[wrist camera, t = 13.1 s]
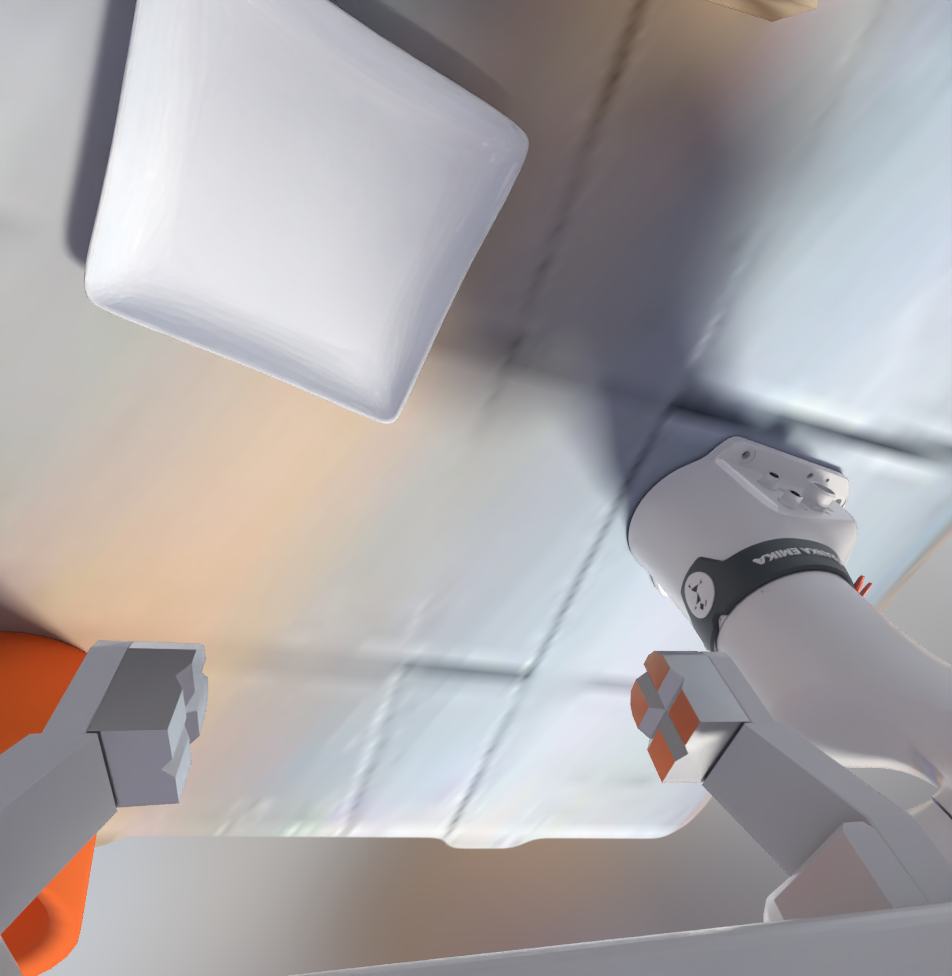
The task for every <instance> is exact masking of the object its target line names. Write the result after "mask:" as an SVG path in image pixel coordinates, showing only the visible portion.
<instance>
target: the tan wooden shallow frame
mask: <svg viewBox="0 0 952 976" xmlns="http://www.w3.org/2000/svg"><path fill="white" fill-rule="evenodd" d="M707 1H711V2H714V3H717V4H720V5H723V6H726V7H729V8H732V9H735V10H738V11H741V12H745V13H748V14H751V15H754V16H757V17H760V18H763V19H766V20H769V21H772V22H773V21H776V20H779V19H782V18H786V17H789V16H792V15H796V14H799V13H802V12H806V11H809V10H812V9H815V8H816V6H817V3H818V1H819V0H707Z"/></svg>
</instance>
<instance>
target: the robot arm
mask: <svg viewBox="0 0 952 976" xmlns="http://www.w3.org/2000/svg"><path fill="white" fill-rule="evenodd" d="M744 452H745V454H744V455H742V454H743V453H744ZM848 495H849V480H848V479H847V478H846V477H845V476H844V475H843V474H841V473H840V472H837V471H834V470H832V469H829V468H826V467H823V466H820V465H818V464H815V463H812V462H809V461H807V460H804V459H801V458H798V457H795V456H793V455H790V454H787V453H784V452H782V451H779V450H776V449H773V448H770V447H768V446H765V445H762V444H759V443H756V442H754V441H751V440H748V439H745V438H743V437H739V436H734V437H731V438H728V439H727V440H725V441H724V442H722V443H721V444H720V445H718V446H717V447H716V448H715V449H713V450H712V451H711V452H710V453H709V454H708V455H706V456H705V457H703V458H701V459H699V460H697V461H695V462H693V463H690V464H688V465H686V466H683V467H681V468H679V469H677V470H676V471H674V472H672V473H671V474H669V475H668V476H666V477H665V478H663V479H662V480H661V481H660V482H658V483H657V484H656V485H655V486H654V487H653V488H652V489H651V490H650V491H649V492H648V493H647V494H646V496H645V497H644V498H643V499H642V501H641V502H640V504H639V505H638V507H637V509H636V511H635V513H634V515H633V517H632V520H631V523H630V527H629V536H628V539H629V546H630V550H631V553H632V555H633V556H634V558H635V560H636V561H637V562H638V563H639V564H640V565H641V566H642V567H643V568H644V569H645V570H646V571H647V572H648V573H649V574H650V575H651V576H652V579H653V582H654V585H655V587H656V589H657V590H658V591H659V592H660V594H661V595H662V596H664V597H669V598H670V599H671V600H672V601H673V603H674V604H675V605H676V606H677V608H678V609H679V610H680V611H681V612H682V614H683V615H684V616H685V617H686V619H687V620H688V621H689V622H690V623H691V625H692V626H693V627H694V629H695V631H696V632H697V634H698V635H699V637H700V638H701V640H702V641H703V643H704V646H705V648H706V649H707V651H708V652H697V651H654V652H652V653H651V654H649V655H648V657H647V659H646V661H645V663H644V666H645V668H646V670H647V672H646V673H644V674H643V675H642V676H640V677H639V678H637V679H636V681H635V683H634V685H633V688H632V690H631V710H632V714H633V718H634V720H635V722H636V725H637V727H638V729H639V730H641V731H642V732H643V733H644V734H645V735H646V736H647V737H648V738H650V740H649V745H648V749H647V750H648V752H649V754H650V757H651V759H652V761H653V763H654V766H655V768H656V770H657V772H658V775H659V777H660V779H661V781H662V783H697V782H704V783H703V784H702V785H703V786H704V787H705V788H706V789H707V790H708V792H709V793H710V794H711V795H712V796H713V797H714V798H715V799H716V800H717V801H718V802H719V803H720V804H721V805H722V806H723V807H724V808H725V809H726V810H727V811H728V812H729V813H730V814H731V815H732V816H733V818H734V819H735V820H736V821H737V822H738V823H739V824H740V825H741V826H742V827H743V828H744V829H745V830H746V831H747V832H748V833H749V834H750V835H751V836H752V837H753V838H754V839H755V840H756V842H757V843H759V844H760V846H761V847H762V848H763V849H764V850H765V851H766V852H767V853H768V854H769V855H770V856H771V857H772V858H773V859H774V860H775V861H776V862H777V863H778V864H779V865H780V867H782V869H783V870H784V871H785V872H786V873H787V874H788V875H789V876H790V877H789V878H788V879H787V880H786V881H785V882H784V883H783V884H782V885H780V887H778V888H777V889H776V890H775V891H774V892H772V893H771V894H770V895H769V896H768V897H767V899H766V903H765V909H764V919H763V923H756V924H747V925H739V926H729V927H720V928H711V929H702V930H693V931H684V932H675V933H666V934H657V935H649V936H639V937H630V938H621V939H612V940H603V941H594V942H585V943H576V944H567V945H559V946H549V947H540V948H532V949H522V950H513V951H504V952H495V953H486V954H477V955H468V956H460V957H450V958H441V959H432V960H423V961H415V962H405V963H397V964H388V965H379V966H370V967H361V968H352V969H343V970H335V971H325V972H316V973H307V974H298V975H290V976H952V665H951V664H949V663H947V662H945V661H944V660H942V659H940V658H938V657H937V656H935V655H934V654H932V653H931V652H929V651H928V650H927V649H925V648H924V647H923V646H921V645H920V644H918V643H917V642H916V641H915V640H913V639H912V638H911V637H910V636H908V635H907V634H906V633H904V632H903V631H902V630H901V629H899V628H898V627H897V626H896V625H895V624H893V623H892V622H891V621H890V620H888V619H887V618H886V617H885V616H884V615H883V614H881V613H880V612H879V611H878V610H877V609H876V608H875V607H874V606H872V605H871V604H870V603H869V602H868V601H867V600H866V599H865V598H863V597H864V595H865V594H866V593H867V591H868V590H869V588H870V587H871V585H872V583H868V584H867V585H866V586H865V587H864V588H863V589H862V591H861V592H860V593H859V591H860V589H861V588H862V584H863V581H864V578H865V577H864V576H862V575H861V576H860V577H859V578H858V579H857V581H856V582H855V583H854V584H853V582H852V580H851V578H850V576H849V574H848V572H847V570H846V569H845V565H846V563H847V561H848V559H849V557H850V555H851V553H852V551H853V549H854V546H855V543H856V540H857V535H858V527H857V523H856V521H855V519H854V518H853V516H852V515H851V514H850V513H848V512H847V511H846V510H845V509H844V508H845V506H846V503H847V499H848ZM205 660H206V656H205V648H204V645H203V644H194V643H170V642H146V641H109V640H99V641H98V642H97V643H96V644H95V645H93V646H92V647H91V648H90V650H89V651H88V653H87V655H86V656H85V658H84V660H83V662H82V663H81V665H80V667H79V669H78V670H77V672H76V674H75V676H74V677H73V679H72V681H71V683H70V684H69V686H68V688H67V690H66V691H65V693H64V695H63V697H62V698H61V700H60V702H59V704H58V705H57V707H56V709H55V711H54V712H53V714H52V716H51V718H50V719H49V721H48V723H47V725H46V726H45V728H44V730H43V732H42V733H41V734H29V735H27V736H26V737H25V738H23V739H22V740H20V741H19V742H18V743H16V744H15V745H13V746H12V747H10V748H9V749H8V750H6V751H5V752H3V753H2V754H1V755H0V976H23V975H22V973H21V971H20V969H19V966H18V964H17V963H16V961H15V959H14V958H13V956H12V954H11V952H10V951H9V949H8V947H7V945H6V944H5V942H4V940H3V939H2V937H1V934H2V933H3V931H4V930H5V929H6V928H7V927H8V926H9V925H10V924H11V923H12V922H13V921H14V920H15V919H16V918H17V917H18V916H19V915H20V913H21V912H22V911H23V910H24V909H25V908H26V907H27V906H28V905H29V904H30V903H31V902H32V901H33V900H34V899H35V898H36V896H37V895H38V894H39V893H40V892H41V891H42V890H43V889H44V888H45V887H46V886H47V885H48V884H49V883H50V882H51V881H52V880H53V878H54V877H55V876H56V875H57V874H58V873H59V872H60V871H61V870H62V869H63V868H64V867H65V866H66V865H67V864H68V863H69V862H70V860H71V859H72V858H73V857H74V856H75V855H76V854H77V853H78V852H79V851H80V850H81V849H82V848H83V847H84V846H85V845H86V843H87V842H88V841H89V840H90V839H91V838H92V837H93V836H94V835H95V834H96V833H97V832H98V831H99V830H100V829H101V828H102V827H103V825H104V824H105V823H106V822H107V821H108V820H109V819H110V818H111V817H112V816H113V815H114V814H115V813H116V812H117V809H116V808H117V807H131V806H146V805H160V804H175V803H179V801H180V798H181V795H182V791H183V788H184V785H185V782H186V778H187V775H188V772H189V769H190V765H191V762H192V761H191V752H190V744H191V743H192V742H193V741H194V740H195V739H196V738H198V737H199V736H200V732H201V729H202V725H203V722H204V718H205V712H206V706H207V701H208V677H207V676H205V675H204V674H203V673H202V669H203V666H204V663H205ZM845 767H860V768H861V767H865V768H868V767H869V768H872V767H873V768H888V769H894V770H899V771H902V772H906V773H909V774H912V775H914V776H917V777H919V778H921V779H924V780H926V781H928V782H929V783H931V784H933V785H934V786H936V787H937V788H939V791H938V792H937V793H936V794H935V795H934V796H932V797H931V798H932V800H933V801H932V800H929V801H927V802H925V803H922V804H920V805H918V806H916V807H914V808H912V809H910V810H907V811H904V810H903V809H901V808H900V807H899V806H897V805H896V804H894V803H893V802H892V801H890V800H889V799H887V798H886V797H885V796H883V795H882V794H881V793H879V792H878V791H876V790H875V789H874V788H872V787H871V786H870V785H868V784H867V783H865V782H864V781H863V780H861V779H860V778H859V777H857V776H856V775H854V774H853V773H852V772H850V771H849V770H847V769H846V768H845Z"/></svg>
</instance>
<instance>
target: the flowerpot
mask: <svg viewBox="0 0 952 976" xmlns="http://www.w3.org/2000/svg"><path fill="white" fill-rule="evenodd" d="M86 655H87V653H85V652H83V651H82V650H80V649H78V648H76V647H73V646H71V645H69V644H66V643H64V642H62V641H58V640H55V639H51V638H48V637H44V636H40V635H34V634H28V633H20V632H0V755H1V754H2V753H3V752H5V751H6V750H8V749H9V748H10V747H12V746H13V745H15V744H16V743H18V742H19V741H20V740H22V739H23V738H25V737H26V736H27V735H29V734H41V733H42V732H43V730H44V728H45V726H46V725H47V723H48V721H49V719H50V718H51V716H52V714H53V712H54V711H55V709H56V707H57V705H58V704H59V702H60V700H61V698H62V697H63V695H64V693H65V691H66V690H67V688H68V686H69V684H70V683H71V681H72V679H73V677H74V676H75V674H76V672H77V670H78V669H79V667H80V665H81V663H82V662H83V660H84V658H85V656H86ZM96 834H97V833H96ZM96 834H95V835H94V836H93V837H92V838H91V839H90V840H89V841H88V842H87V843H86V845H85V846H84V847H83V848H82V849H81V850H80V851H79V852H78V853H77V854H76V855H75V856H74V857H73V858H72V859H71V860H70V862H69V863H68V864H67V865H66V866H65V867H64V868H63V869H62V870H61V871H60V872H59V873H58V874H57V875H56V876H55V877H54V878H53V880H52V881H51V882H50V883H49V884H48V885H47V886H46V887H45V888H44V889H43V890H42V891H41V892H40V893H39V894H38V895H37V896H36V898H35V899H34V900H33V901H32V902H31V903H30V904H29V905H28V906H27V907H26V908H25V909H24V910H23V911H22V912H21V913H20V915H19V916H18V917H17V918H16V919H15V920H14V921H13V922H12V923H11V924H10V925H9V926H8V927H7V928H6V929H5V930H4V931H3V933H2V934H1V937H2V939H3V940H4V942H5V944H6V945H7V947H8V949H9V951H10V952H11V954H12V956H13V958H14V959H15V961H16V963H17V964H18V966H19V969H20V971H21V973H22V975H23V976H37V975H39V974H41V973H43V972H45V971H47V970H49V969H51V968H52V967H54V966H55V965H56V964H58V963H59V962H60V961H62V960H63V959H64V958H66V957H67V956H68V954H69V953H70V952H71V951H72V949H73V948H74V947H75V945H76V944H77V942H78V938H79V934H80V930H81V925H82V919H83V913H84V906H85V900H86V894H87V888H88V882H89V876H90V870H91V864H92V858H93V852H94V846H95V840H96Z"/></svg>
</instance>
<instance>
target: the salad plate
mask: <svg viewBox="0 0 952 976" xmlns="http://www.w3.org/2000/svg"><path fill="white" fill-rule="evenodd" d="M528 148H529V139H528V137H527V135H526V134H525V132H524V131H523V130H522V129H521V128H520V127H519V126H518V125H517V124H516V123H515V122H513V121H512V120H511V119H509V118H508V117H507V116H505V115H504V114H502V113H501V112H499V111H498V110H497V109H495V108H494V107H493V106H491V105H490V104H488V103H487V102H485V101H484V100H482V99H481V98H479V97H477V96H475V95H474V94H472V93H471V92H469V91H468V90H466V89H465V88H463V87H461V86H460V85H458V84H456V83H455V82H453V81H452V80H450V79H448V78H447V77H445V76H444V75H442V74H440V73H439V72H437V71H436V70H434V69H433V68H431V67H429V66H428V65H426V64H425V63H423V62H421V61H420V60H418V59H417V58H415V57H413V56H412V55H410V54H409V53H407V52H406V51H404V50H403V49H401V48H400V47H398V46H396V45H395V44H393V43H391V42H390V41H388V40H386V39H385V38H383V37H382V36H380V35H379V34H377V33H376V32H374V31H373V30H371V29H370V28H368V27H367V26H365V25H364V24H363V23H361V22H360V21H358V20H357V19H355V18H354V17H352V16H351V15H350V14H348V13H347V12H345V11H344V10H342V9H341V8H339V7H338V6H336V5H335V4H334V3H332V2H331V1H329V0H136V6H135V12H134V18H133V24H132V30H131V36H130V42H129V48H128V54H127V60H126V65H125V71H124V77H123V82H122V88H121V94H120V99H119V105H118V110H117V116H116V122H115V127H114V133H113V138H112V144H111V149H110V153H109V158H108V163H107V167H106V171H105V176H104V181H103V185H102V190H101V195H100V200H99V204H98V208H97V213H96V217H95V222H94V227H93V232H92V236H91V240H90V244H89V249H88V253H87V259H86V265H85V273H84V286H85V293H86V295H87V297H88V299H89V300H90V301H91V302H92V303H93V304H94V305H96V306H97V307H99V308H101V309H103V310H105V311H107V312H109V313H111V314H114V315H116V316H118V317H120V318H123V319H125V320H127V321H130V322H132V323H135V324H137V325H140V326H143V327H145V328H148V329H150V330H153V331H155V332H158V333H161V334H163V335H166V336H169V337H171V338H174V339H176V340H179V341H182V342H184V343H187V344H190V345H192V346H195V347H197V348H200V349H203V350H205V351H208V352H210V353H213V354H216V355H218V356H221V357H223V358H226V359H228V360H231V361H234V362H236V363H239V364H241V365H244V366H246V367H248V368H251V369H253V370H256V371H258V372H261V373H263V374H266V375H268V376H270V377H273V378H275V379H277V380H280V381H282V382H285V383H287V384H290V385H292V386H294V387H297V388H299V389H301V390H304V391H306V392H308V393H311V394H313V395H315V396H318V397H320V398H322V399H325V400H327V401H329V402H331V403H334V404H336V405H338V406H341V407H343V408H345V409H348V410H350V411H353V412H355V413H357V414H360V415H362V416H365V417H367V418H370V419H372V420H375V421H377V422H380V423H384V424H390V423H393V422H394V421H395V420H397V418H398V417H399V415H400V413H401V412H402V410H403V408H404V406H405V404H406V402H407V400H408V398H409V395H410V393H411V391H412V389H413V387H414V385H415V382H416V380H417V378H418V376H419V373H420V371H421V369H422V367H423V365H424V362H425V360H426V358H427V356H428V354H429V351H430V349H431V347H432V345H433V343H434V341H435V338H436V336H437V334H438V332H439V330H440V328H441V325H442V323H443V321H444V319H445V317H446V315H447V313H448V311H449V309H450V306H451V304H452V302H453V300H454V298H455V296H456V294H457V292H458V290H459V288H460V286H461V284H462V282H463V280H464V278H465V276H466V274H467V271H468V269H469V267H470V265H471V263H472V262H473V260H474V258H475V256H476V254H477V252H478V251H479V249H480V247H481V245H482V243H483V241H484V240H485V238H486V236H487V234H488V232H489V230H490V229H491V227H492V225H493V223H494V221H495V219H496V218H497V216H498V214H499V212H500V210H501V208H502V207H503V205H504V203H505V201H506V199H507V197H508V195H509V193H510V191H511V189H512V187H513V185H514V183H515V181H516V179H517V177H518V175H519V172H520V170H521V168H522V166H523V164H524V161H525V158H526V155H527V152H528Z"/></svg>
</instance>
